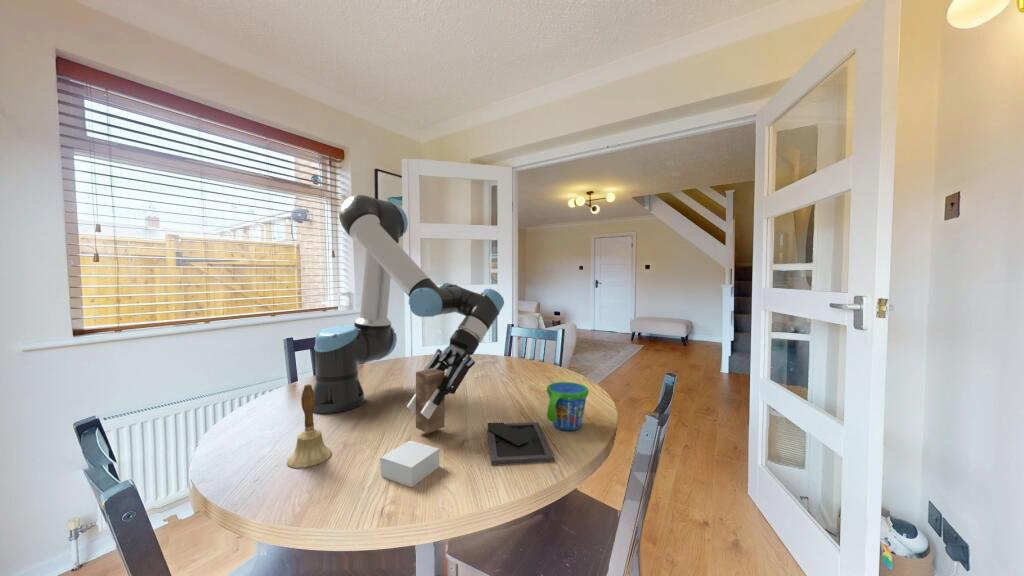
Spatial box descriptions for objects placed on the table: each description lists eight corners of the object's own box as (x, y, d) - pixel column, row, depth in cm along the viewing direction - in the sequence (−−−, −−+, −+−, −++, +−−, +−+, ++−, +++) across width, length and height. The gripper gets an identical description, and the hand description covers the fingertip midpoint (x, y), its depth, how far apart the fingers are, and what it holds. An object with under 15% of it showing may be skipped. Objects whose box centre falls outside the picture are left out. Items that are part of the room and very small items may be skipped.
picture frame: (487, 430, 90) (491, 468, 72) (487, 422, 90) (491, 458, 72) (538, 427, 91) (553, 464, 73) (538, 420, 91) (554, 455, 73)
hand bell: (323, 466, 71) (322, 389, 71) (279, 470, 70) (277, 392, 69) (337, 447, 79) (336, 378, 79) (297, 450, 78) (296, 380, 78)
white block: (380, 477, 68) (380, 457, 68) (410, 458, 75) (409, 440, 75) (411, 488, 64) (411, 467, 64) (439, 467, 71) (439, 448, 71)
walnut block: (415, 427, 86) (415, 371, 86) (432, 421, 90) (432, 368, 90) (427, 433, 83) (428, 375, 83) (444, 426, 87) (444, 371, 86)
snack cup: (568, 412, 100) (569, 377, 100) (600, 423, 93) (601, 385, 93) (532, 428, 90) (532, 389, 89) (565, 442, 82) (565, 399, 82)
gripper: (498, 349, 92) (450, 430, 80) (453, 340, 104) (405, 410, 91) (485, 331, 88) (431, 415, 76) (439, 324, 99) (387, 396, 87)
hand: (417, 412), depth 84 cm, fingers closed on walnut block, 5 cm apart
